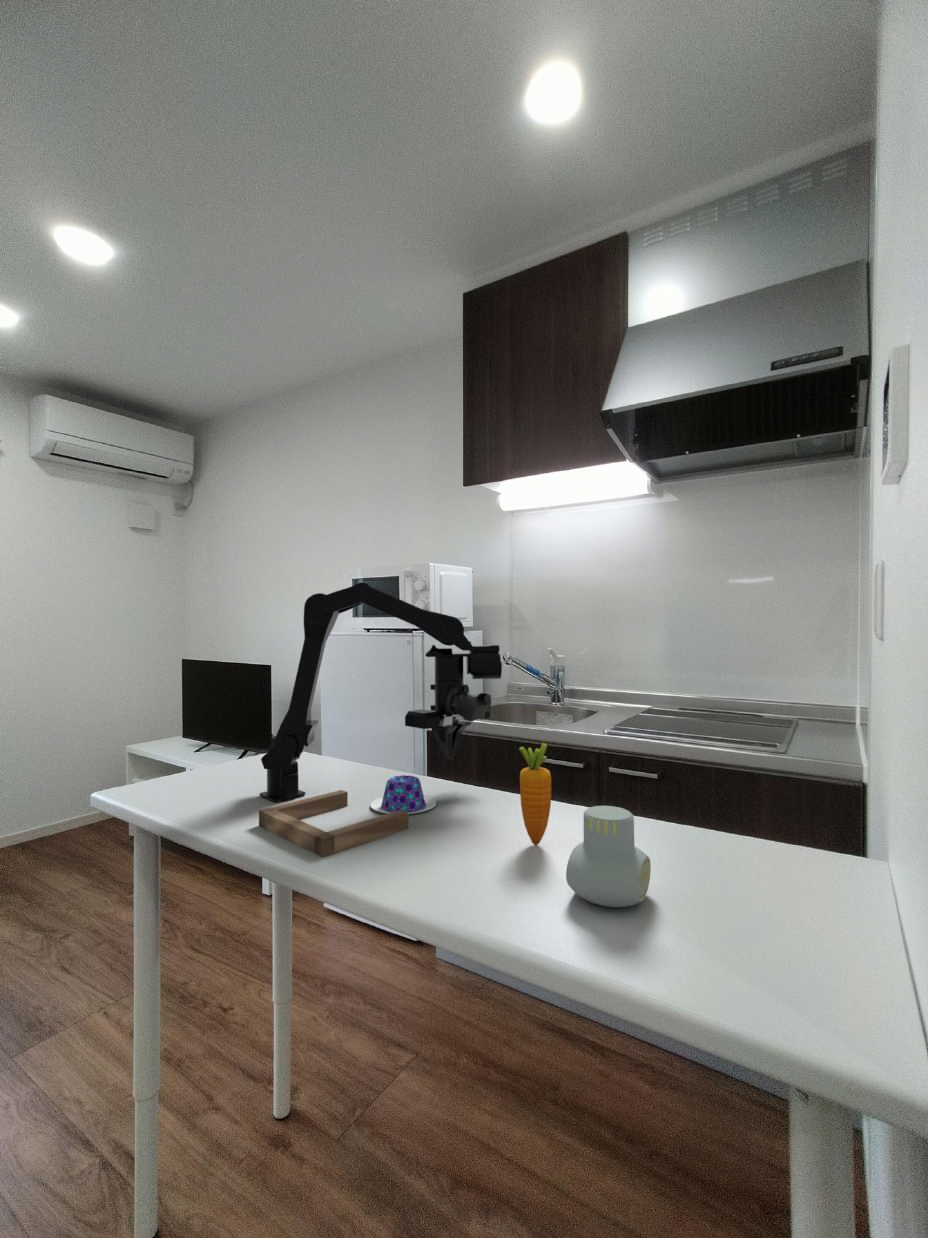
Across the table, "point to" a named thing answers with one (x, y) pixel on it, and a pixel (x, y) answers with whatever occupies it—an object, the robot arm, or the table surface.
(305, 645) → the robot arm
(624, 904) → the air freshener
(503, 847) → the table surface
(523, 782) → the carrot
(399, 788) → the pudding
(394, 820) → the holder
